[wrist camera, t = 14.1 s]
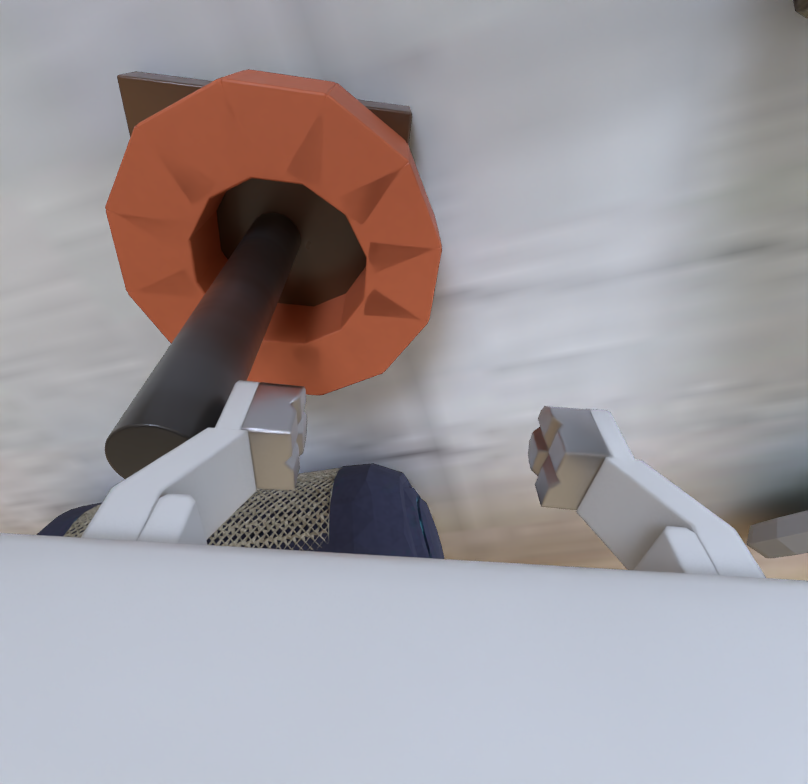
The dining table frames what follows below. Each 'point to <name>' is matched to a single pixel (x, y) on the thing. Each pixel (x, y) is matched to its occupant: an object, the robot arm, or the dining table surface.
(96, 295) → the dining table surface
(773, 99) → the dining table surface
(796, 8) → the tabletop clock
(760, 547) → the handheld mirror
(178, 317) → the ring
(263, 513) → the portable speaker
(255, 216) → the stand
